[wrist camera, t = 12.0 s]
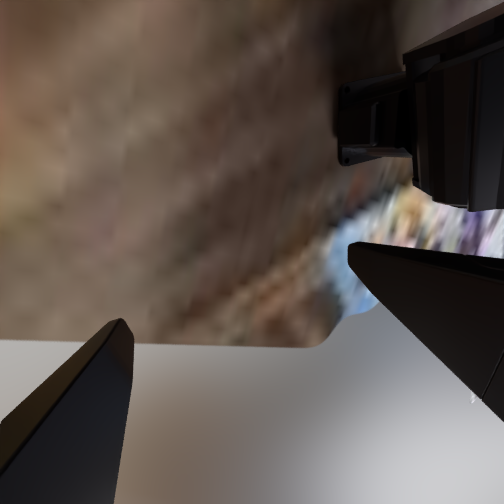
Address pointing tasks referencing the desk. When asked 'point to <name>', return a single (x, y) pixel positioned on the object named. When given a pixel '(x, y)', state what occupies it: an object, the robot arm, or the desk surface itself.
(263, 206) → the desk surface
